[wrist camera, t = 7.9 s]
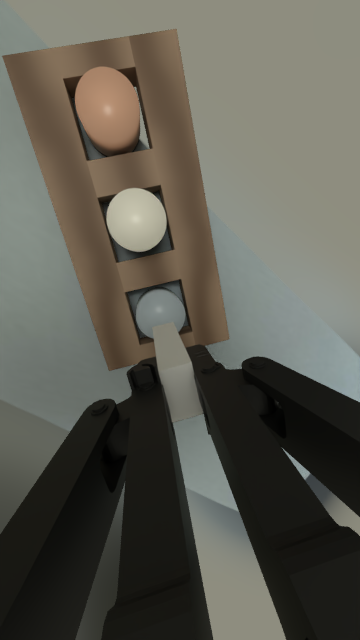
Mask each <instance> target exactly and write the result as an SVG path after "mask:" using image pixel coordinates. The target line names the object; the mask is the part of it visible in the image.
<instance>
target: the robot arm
mask: <svg viewBox="0 0 360 640" xmlns="http://www.w3.org/2000/svg"><path fill="white" fill-rule="evenodd" d="M152 330H153V337H154V344H155V352H156V356H155V357H151V358H148V359H144V360H141V361H140V362H139V363H138V365H136V366H134V367H132V368H131V369H130V370H129V371H128V372H127V377H128V380H129V383H130V386H131V389H132V395H131V397H129V398H128V399H126V400H125V401H123V402H121V403H119V404H117V405H116V403H115V401H114V400H112V399H103V400H99V401H96V402H94V403H93V404H92V405H90V406H89V407H88V408H87V409H86V410H85V411H84V412H83V414H82V415H81V417H80V418H79V420H78V421H77V423H76V424H75V426H74V427H73V429H72V430H71V431H70V433H69V434H68V436H67V437H66V439H65V440H64V442H63V443H62V445H61V446H60V448H59V449H58V451H57V452H56V453H55V455H54V456H53V458H52V460H51V461H50V462H49V464H48V465H47V467H46V468H45V470H44V471H43V473H42V474H41V476H40V477H39V479H38V480H37V481H36V483H35V484H34V486H33V487H32V489H31V490H30V492H29V493H28V495H27V496H26V497H25V499H24V501H23V502H22V503H21V505H20V506H19V508H18V509H17V511H16V512H15V514H14V515H13V517H12V518H11V519H10V521H9V522H8V524H7V525H6V527H5V528H4V530H3V531H2V533H1V534H0V640H75V638H76V635H77V632H78V629H79V626H80V622H81V619H82V616H83V613H84V610H85V607H86V603H87V600H88V596H89V594H90V591H91V588H92V584H93V581H94V578H95V574H96V572H97V569H98V565H99V562H100V559H101V556H102V553H103V549H104V546H105V543H106V540H107V537H108V534H109V530H110V527H111V524H112V521H113V518H114V514H115V511H116V508H117V505H118V502H119V499H120V496H121V492H122V489H123V486H124V483H125V493H124V507H123V523H122V536H121V550H120V565H119V578H118V591H117V599H116V602H115V605H114V606H113V607H112V608H111V609H110V610H109V611H108V612H107V616H106V619H105V622H104V626H103V632H102V639H101V640H213V636H212V630H211V625H210V619H209V614H208V609H207V604H206V598H205V593H204V587H203V582H202V577H201V571H200V566H199V560H198V555H197V550H196V545H195V539H194V533H193V529H192V523H191V517H190V512H189V506H188V501H187V496H186V491H185V485H184V479H183V474H182V469H181V463H180V458H179V453H178V447H177V442H176V436H175V431H174V427H173V424H172V423H173V422H177V421H180V420H184V419H187V418H191V417H194V416H198V415H201V414H203V412H204V417H205V421H206V426H207V430H208V435H209V434H210V435H211V437H212V440H213V443H214V445H215V448H216V451H217V453H218V456H219V459H220V461H221V464H222V467H223V470H224V472H225V475H226V478H227V480H228V483H229V486H230V488H231V491H232V494H233V496H234V499H235V502H236V504H237V507H238V510H239V512H240V515H241V518H242V520H243V523H244V526H245V528H246V531H247V534H248V537H249V539H250V542H251V544H252V547H253V550H254V552H255V555H256V558H257V561H258V563H259V566H260V569H261V571H262V574H263V577H264V580H265V582H266V585H267V587H268V590H269V593H270V596H271V598H272V601H273V604H274V606H275V609H276V612H277V614H278V617H279V619H280V623H281V625H282V628H283V631H284V634H285V637H286V640H360V536H359V535H358V534H357V533H356V532H355V531H353V530H352V529H351V528H350V527H344V526H339V525H338V524H337V523H336V522H335V521H334V520H333V519H332V517H331V516H330V515H329V514H328V512H327V511H326V509H325V508H324V507H323V505H322V504H321V502H320V501H319V499H318V498H317V497H316V495H315V494H314V492H313V491H312V490H311V488H310V487H309V485H308V484H307V483H306V481H305V480H304V478H303V477H302V476H301V474H300V473H299V471H298V470H297V469H296V467H295V466H294V464H293V463H292V462H291V460H290V459H289V457H288V456H287V455H286V453H285V452H284V450H285V451H286V452H288V453H289V454H290V455H291V456H292V457H293V458H294V459H295V460H297V461H298V462H299V463H300V464H301V465H302V466H303V467H304V468H305V469H307V470H308V471H309V472H310V473H311V474H312V475H313V476H315V477H316V478H317V479H318V480H319V481H320V482H321V483H322V484H323V485H324V486H326V487H327V488H328V489H329V490H330V491H331V492H332V493H333V494H335V495H336V496H337V497H338V498H339V499H340V500H341V501H342V502H344V503H345V504H346V505H347V506H348V507H349V508H350V509H351V510H353V511H354V512H355V513H356V514H357V515H358V516H359V517H360V402H358V401H356V400H354V399H351V398H349V397H347V396H345V395H343V394H341V393H339V392H337V391H335V390H333V389H331V388H329V387H327V386H325V385H323V384H321V383H318V382H316V381H314V380H312V379H310V378H308V377H306V376H304V375H302V374H300V373H298V372H296V371H294V370H292V369H290V368H287V367H285V366H283V365H281V364H279V363H277V362H275V361H273V360H271V359H269V358H265V357H259V356H258V357H252V358H249V359H246V360H245V361H243V363H242V369H235V370H228V369H225V368H224V366H223V365H222V364H221V363H218V362H215V360H214V359H213V357H212V356H211V355H210V353H209V352H208V350H207V349H206V347H205V346H203V345H200V344H198V345H194V346H190V347H186V348H185V347H184V344H183V342H182V340H181V338H180V336H179V333H178V331H177V329H176V327H175V325H174V322H170V323H167V324H163V325H159V326H155V327H152ZM202 409H203V410H202ZM281 447H282V448H283V449H284V450H283V449H282V448H281Z"/></svg>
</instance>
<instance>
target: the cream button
mask: <svg viewBox="0 0 360 640" xmlns="http://www.w3.org/2000/svg"><path fill="white" fill-rule="evenodd" d="M166 223H167V221H166V213H165V210H164V208H163V206H162V204H161V202H160V201H159V200H158V199H157V198H156V196H154V195H153V194H152V193H150V192H148V191H146V190H144V189H139V188H130V189H126V190H123V191H121V192H120V193H118V194H117V195H116V196H115V197H114V198H113V199H112V201H111V202H110V204H109V207H108V210H107V225H108V229H109V232H110V234H111V235H112V237H113V238H114V240H115V241H116V242H117V243H118V244H119V245H121V246H122V247H124V248H126V249H128V250H131V251H135V252H143V251H147V250H150V249H151V248H153V247H154V246H156V245H157V244H158V243H159V242H160V240H161V239H162V237H163V235H164V233H165V230H166Z"/></svg>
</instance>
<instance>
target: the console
mask: <svg viewBox="0 0 360 640" xmlns="http://www.w3.org/2000/svg"><path fill="white" fill-rule="evenodd" d="M2 57H3V60H4V62H5V65H6V68H7V71H8V74H9V77H10V80H11V83H12V86H13V89H14V92H15V95H16V98H17V101H18V104H19V107H20V110H21V113H22V116H23V118H24V121H25V124H26V127H27V130H28V133H29V136H30V139H31V142H32V145H33V148H34V151H35V154H36V157H37V160H38V163H39V166H40V169H41V172H42V174H43V177H44V180H45V183H46V186H47V189H48V192H49V195H50V198H51V201H52V204H53V207H54V210H55V213H56V216H57V219H58V222H59V225H60V227H61V230H62V233H63V236H64V239H65V242H66V245H67V248H68V251H69V254H70V257H71V260H72V263H73V266H74V269H75V272H76V275H77V278H78V281H79V283H80V286H81V289H82V292H83V295H84V298H85V301H86V304H87V307H88V310H89V313H90V316H91V319H92V322H93V325H94V328H95V331H96V334H97V337H98V339H99V342H100V345H101V348H102V351H103V354H104V357H105V360H106V363H107V366H108V369H109V371H111V370H115V369H118V368H122V367H126V366H130V365H134V364H137V363H139V362H140V361H141V360H144V359H148V358H151V357H155V356H156V352H155V344H154V339H153V338H150V337H148V336H146V337H142V338H140V335H139V332H138V328H137V325H136V321H135V318H134V314H133V311H132V307H131V304H130V300H129V297H128V293H127V292H129V291H133V290H137V289H141V288H145V287H149V286H154V285H158V284H162V283H166V282H170V281H174V280H179V284H180V288H181V293H182V298H183V302H184V307H185V311H186V316H187V320H188V325H189V326H185V327H182V328H181V330H180V331H179V332H178V333H179V336H180V338H181V340H182V342H183V344H184V347H185V348H186V347H190V346H194V345H198V344H200V345H203V346H205V345H209V344H213V343H217V342H220V341H224V340H228V339H229V333H228V327H227V321H226V316H225V310H224V304H223V298H222V292H221V286H220V281H219V275H218V269H217V263H216V257H215V251H214V245H213V240H212V234H211V228H210V222H209V216H208V210H207V205H206V199H205V193H204V187H203V181H202V175H201V170H200V164H199V158H198V152H197V146H196V140H195V134H194V130H193V123H192V117H191V111H190V105H189V99H188V93H187V88H186V82H185V76H184V70H183V64H182V59H181V52H180V47H179V41H178V35H177V29H173V30H165V31H159V32H153V33H146V34H140V35H133V36H127V37H120V38H114V39H108V40H101V41H95V42H89V43H82V44H76V45H69V46H62V47H57V48H50V49H43V50H37V51H30V52H24V53H17V54H11V55H5V56H2ZM96 67H110V68H113V69H115V70H117V71H119V72H120V73H122V74H123V75H124V76H125V77H126V78H127V79H128V80H129V81H130V82H131V84H132V85H133V87H136V88H137V92H138V97H139V102H140V106H141V111H142V115H143V120H144V125H145V129H146V134H147V138H148V143H149V147H150V149H147V150H142V151H137V152H132V153H127V154H121V155H116V156H111V157H106V158H101V159H96V160H89V157H88V153H87V150H86V146H85V143H84V139H83V136H82V132H81V129H80V125H79V122H78V118H77V115H76V111H75V108H74V104H73V101H72V97H75V92H76V88H77V85H78V82H79V81H80V79H81V77H82V76H83V75H84V74H85V73H86V72H87V71H89V70H90V69H93V68H96ZM130 188H139V189H144V190H146V191H148V192H150V193H153V192H158V191H159V193H160V197H161V202H162V206H163V208H164V210H165V213H166V221H167V223H166V225H167V229H168V234H169V238H170V243H171V247H172V250H170V251H166V252H162V253H157V254H153V255H149V256H144V257H140V258H135V259H131V260H127V261H122V262H118V258H117V255H116V251H115V248H114V244H113V241H112V237H111V234H110V232H109V229H108V225H107V220H106V216H105V213H104V209H103V206H102V203H106V202H110V201H112V199H113V198H114V197H115V196H116V195H117V194H118V193H120V192H121V191H123V190H126V189H130Z"/></svg>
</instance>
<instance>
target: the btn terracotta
mask: <svg viewBox="0 0 360 640" xmlns="http://www.w3.org/2000/svg"><path fill="white" fill-rule="evenodd" d="M75 105H76V110H77V113H78V116H79V118H80V120H81V122H82V124H83V127H84V129H85V131H86V133H87V135H88V137H89V139H90V141H91V143H92V144H93V146H94V147H95V148H96V149H97V150H98V151H100V152H101V153H102V154H104V155H106V156H109V157H111V156H116V155H121V154H127V153H131V152H132V151H133V150H134V148H135V147H136V145H137V143H138V141H139V136H140V109H139V100H138V96H137V93H136V91H135V89H134V87H133V85H132V84H131V82H130V81H129V80H128V79H127V78H126V77H125V76H124V75H123V74H122V73H120V72H119V71H117V70H115V69H113V68H110V67H96V68H93V69H90V70H89V71H87V72H86V73H85V74H84V75H83V76H82V77H81V79H80V81H79V82H78V85H77V88H76V92H75Z"/></svg>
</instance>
